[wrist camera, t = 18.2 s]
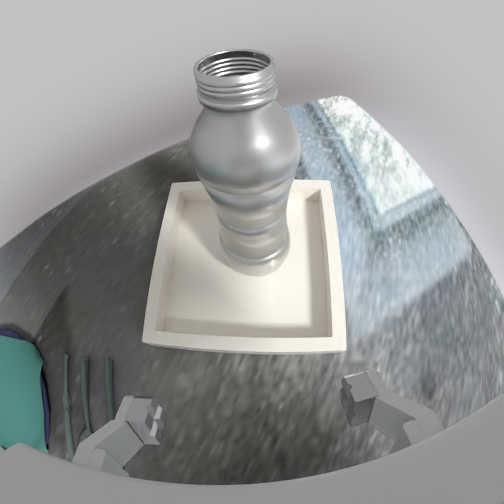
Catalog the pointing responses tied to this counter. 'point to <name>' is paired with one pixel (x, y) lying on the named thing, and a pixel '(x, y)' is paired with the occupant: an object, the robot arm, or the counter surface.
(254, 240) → the plastic bottle
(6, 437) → the cutlery set
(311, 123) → the counter surface
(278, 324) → the ceramic dish
